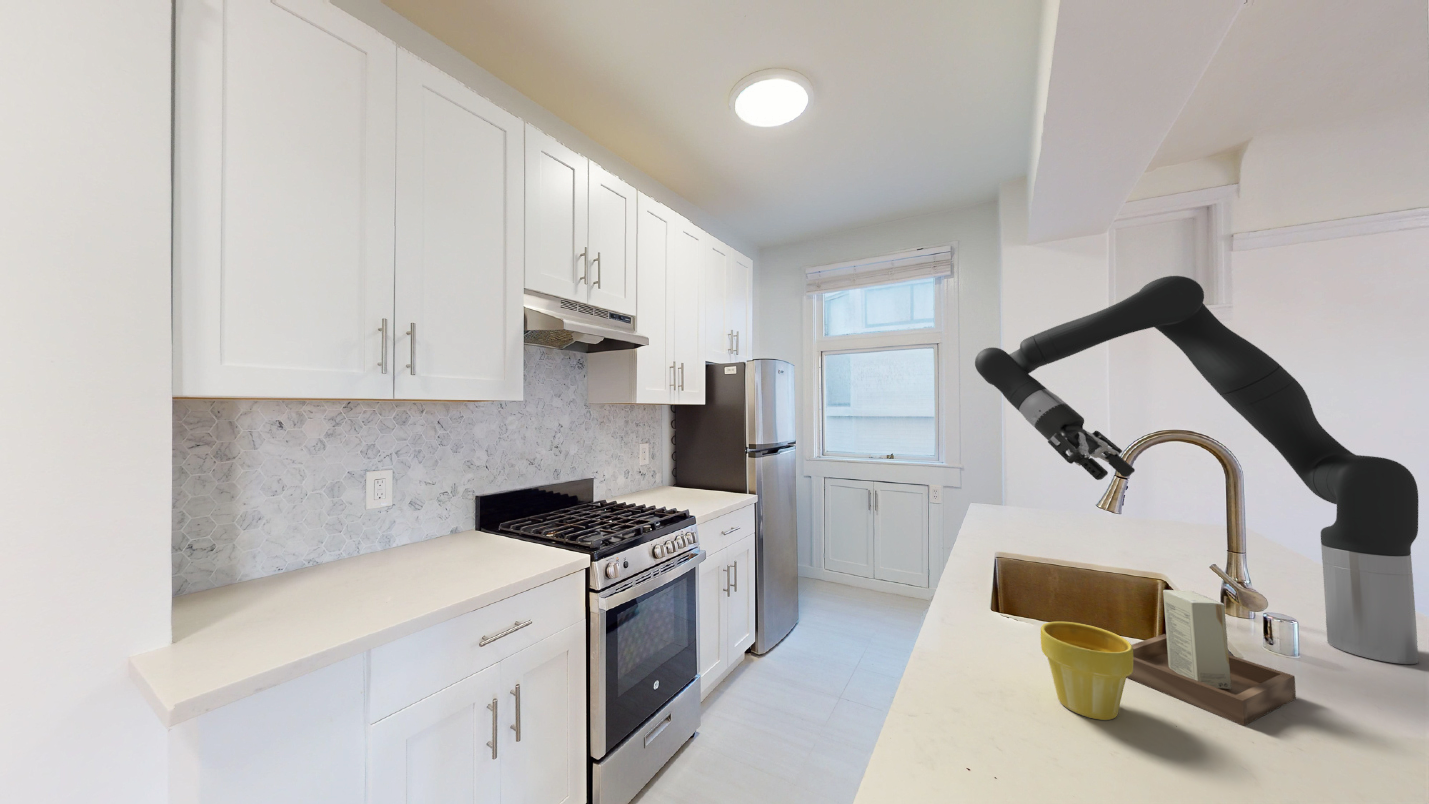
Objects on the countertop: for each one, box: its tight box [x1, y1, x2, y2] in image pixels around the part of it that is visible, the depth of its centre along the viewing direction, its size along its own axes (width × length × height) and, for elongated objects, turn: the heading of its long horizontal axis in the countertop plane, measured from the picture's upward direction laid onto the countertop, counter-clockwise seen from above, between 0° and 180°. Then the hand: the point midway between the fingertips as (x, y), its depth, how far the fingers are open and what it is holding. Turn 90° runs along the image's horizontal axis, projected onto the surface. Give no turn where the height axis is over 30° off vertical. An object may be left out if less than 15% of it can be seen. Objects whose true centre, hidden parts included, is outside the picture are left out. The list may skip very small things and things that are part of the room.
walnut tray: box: [1126, 633, 1297, 727], centre depth 73 cm, size 15×15×3 cm
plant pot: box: [1040, 621, 1133, 721], centre depth 68 cm, size 10×10×10 cm
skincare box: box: [1162, 589, 1231, 689], centre depth 74 cm, size 6×4×12 cm
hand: (1117, 475), depth 90 cm, fingers open, 8 cm apart
